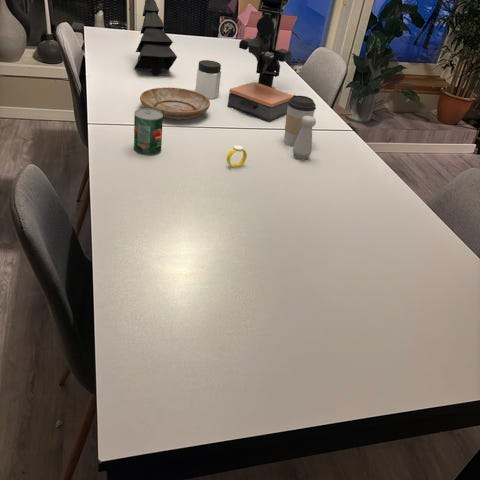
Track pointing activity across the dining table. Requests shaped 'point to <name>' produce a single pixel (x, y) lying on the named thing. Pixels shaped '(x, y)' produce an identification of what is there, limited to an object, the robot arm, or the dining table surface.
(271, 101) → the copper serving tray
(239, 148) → the gold ring
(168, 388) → the dining table surface
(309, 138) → the salt shaker
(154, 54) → the decorative tree
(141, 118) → the canned tomato
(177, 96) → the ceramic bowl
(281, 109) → the dark grey flat box
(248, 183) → the dining table surface
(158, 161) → the dining table surface
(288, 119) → the coffee cup
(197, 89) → the jar
